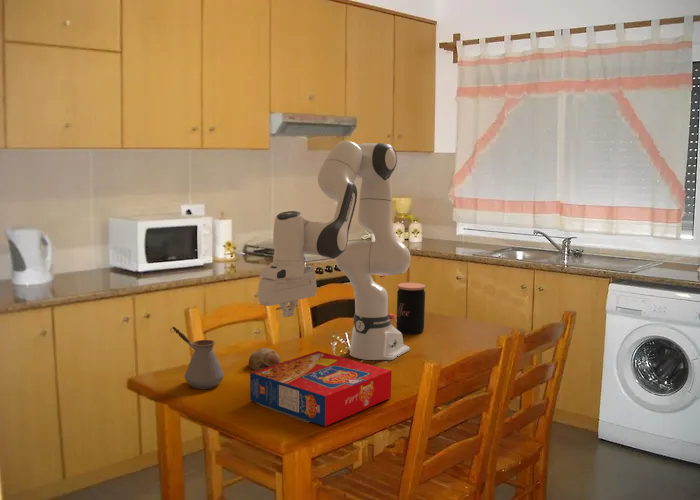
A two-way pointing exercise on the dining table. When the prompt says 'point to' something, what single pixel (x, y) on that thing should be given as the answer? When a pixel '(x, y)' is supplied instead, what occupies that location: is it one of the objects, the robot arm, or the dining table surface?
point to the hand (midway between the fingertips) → (288, 316)
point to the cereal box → (320, 387)
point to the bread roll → (263, 359)
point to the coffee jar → (410, 308)
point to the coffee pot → (202, 364)
